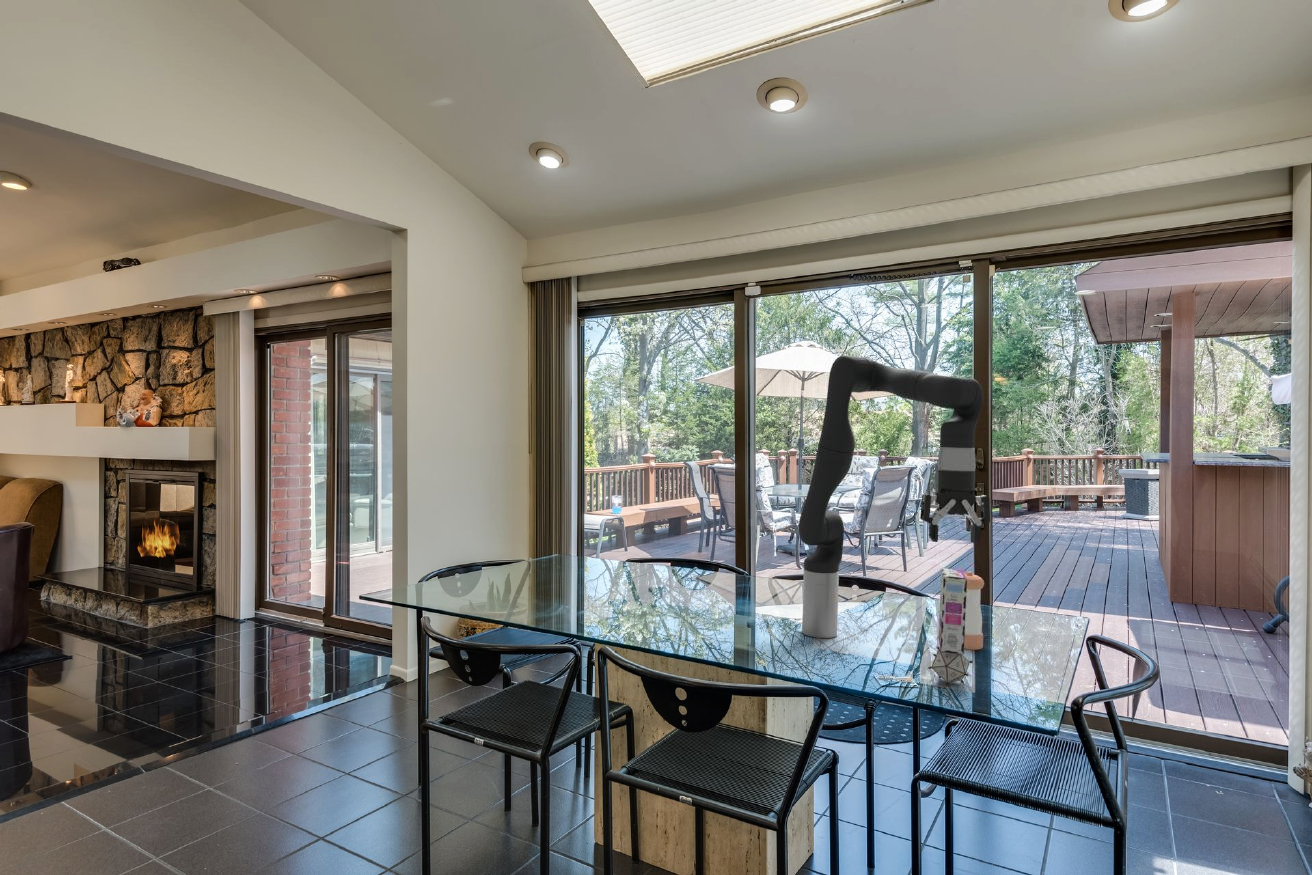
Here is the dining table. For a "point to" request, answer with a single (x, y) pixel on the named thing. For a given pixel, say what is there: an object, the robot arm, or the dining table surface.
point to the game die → (950, 666)
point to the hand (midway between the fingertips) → (954, 542)
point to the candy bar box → (952, 611)
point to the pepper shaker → (973, 613)
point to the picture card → (896, 679)
